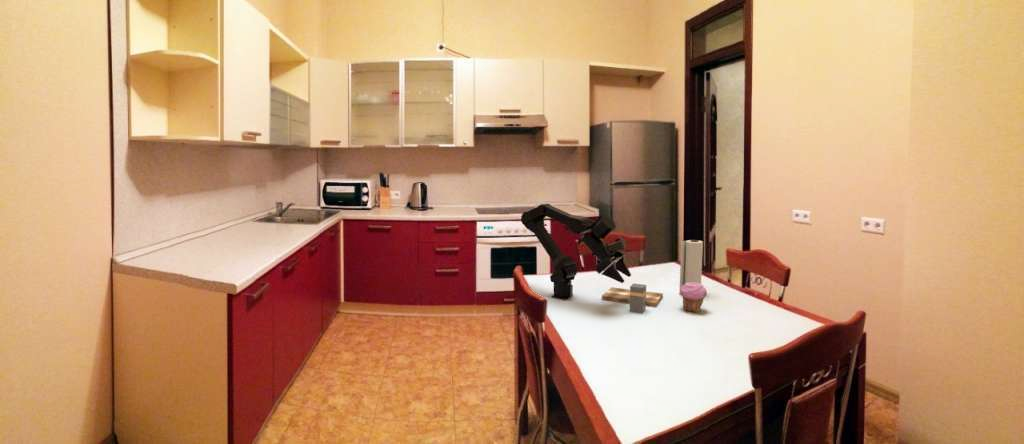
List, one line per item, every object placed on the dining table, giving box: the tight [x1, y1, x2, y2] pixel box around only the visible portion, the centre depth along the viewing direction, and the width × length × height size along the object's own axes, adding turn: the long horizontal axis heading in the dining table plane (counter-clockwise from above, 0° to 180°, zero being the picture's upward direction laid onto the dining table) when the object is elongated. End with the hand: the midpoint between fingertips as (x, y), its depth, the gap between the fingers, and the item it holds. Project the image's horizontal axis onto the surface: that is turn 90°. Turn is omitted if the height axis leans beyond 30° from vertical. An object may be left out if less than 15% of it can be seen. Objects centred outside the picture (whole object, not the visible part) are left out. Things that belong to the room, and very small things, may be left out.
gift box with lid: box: [629, 283, 647, 314], centre depth 160 cm, size 5×5×9 cm
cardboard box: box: [601, 286, 664, 308], centre depth 174 cm, size 20×13×2 cm, turn 62°
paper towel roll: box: [678, 239, 704, 296], centre depth 177 cm, size 7×6×21 cm
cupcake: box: [679, 282, 708, 313], centre depth 160 cm, size 9×9×10 cm
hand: (626, 279), depth 161 cm, fingers open, 9 cm apart
